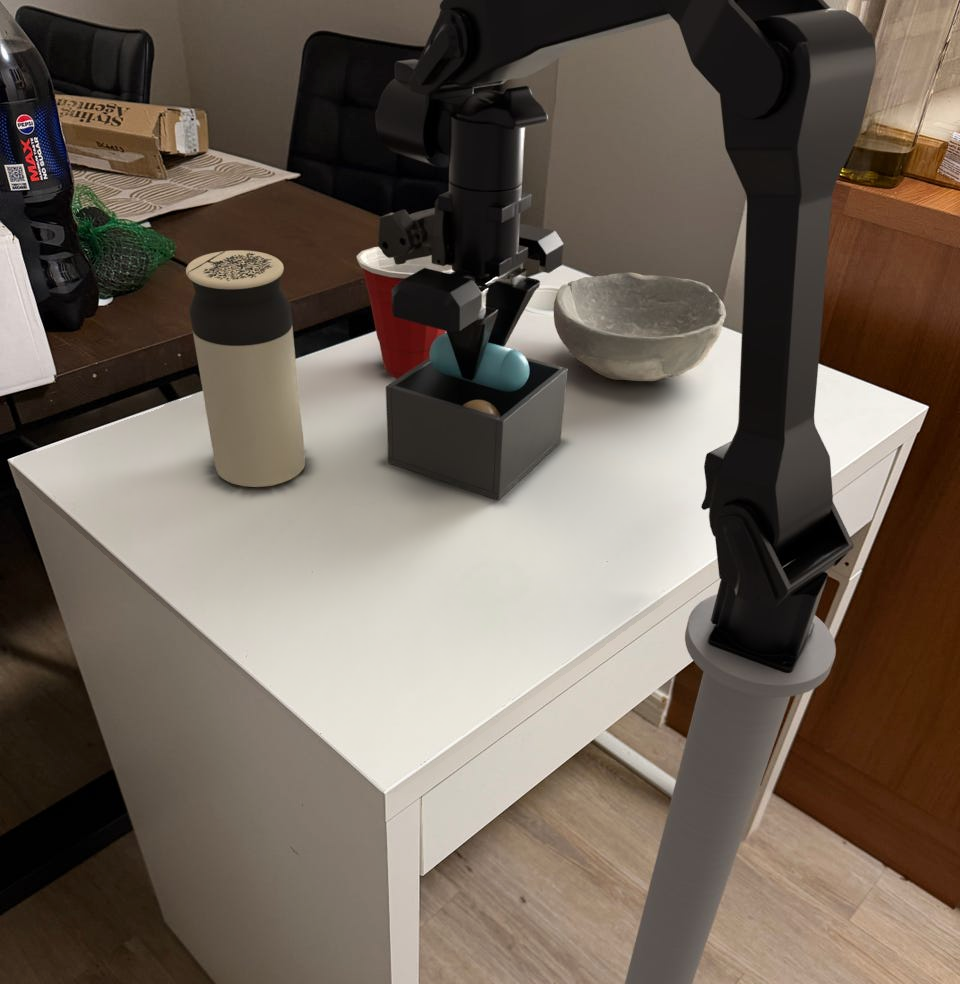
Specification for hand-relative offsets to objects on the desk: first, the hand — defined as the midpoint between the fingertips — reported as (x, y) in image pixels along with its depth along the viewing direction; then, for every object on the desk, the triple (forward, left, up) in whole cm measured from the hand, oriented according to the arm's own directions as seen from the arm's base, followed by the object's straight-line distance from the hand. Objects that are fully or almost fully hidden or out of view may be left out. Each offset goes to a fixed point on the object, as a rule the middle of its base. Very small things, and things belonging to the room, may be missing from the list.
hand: (479, 370), depth 84 cm
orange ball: (0, 0, -8) cm, 8 cm away
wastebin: (0, 0, -8) cm, 8 cm away
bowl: (-5, -25, -8) cm, 27 cm away
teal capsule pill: (0, 0, -1) cm, 1 cm away
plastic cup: (+15, -12, -8) cm, 21 cm away
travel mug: (+15, +13, -8) cm, 22 cm away
